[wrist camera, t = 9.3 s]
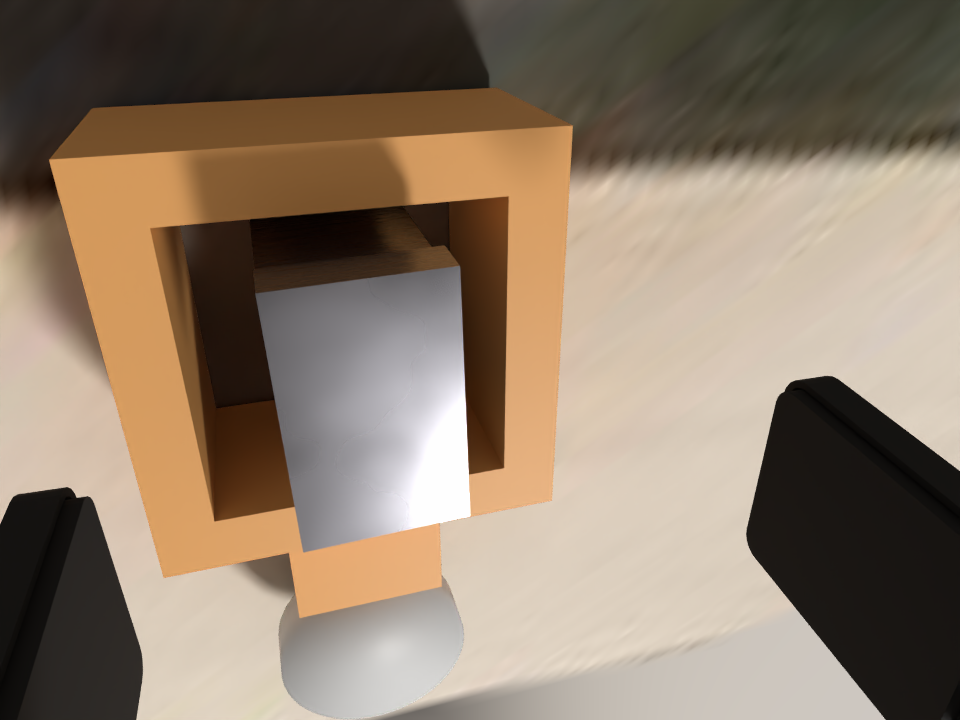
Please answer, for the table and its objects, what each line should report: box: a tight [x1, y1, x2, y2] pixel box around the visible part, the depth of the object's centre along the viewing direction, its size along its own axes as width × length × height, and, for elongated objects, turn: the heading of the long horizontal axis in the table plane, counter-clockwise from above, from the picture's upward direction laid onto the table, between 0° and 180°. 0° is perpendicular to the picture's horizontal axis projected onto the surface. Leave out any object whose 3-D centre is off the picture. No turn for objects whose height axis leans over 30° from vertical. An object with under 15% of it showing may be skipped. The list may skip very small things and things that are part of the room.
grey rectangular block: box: [250, 206, 470, 553], centre depth 16 cm, size 3×5×6 cm, turn 1°
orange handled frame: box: [49, 88, 573, 719], centre depth 18 cm, size 17×9×4 cm, turn 0°
